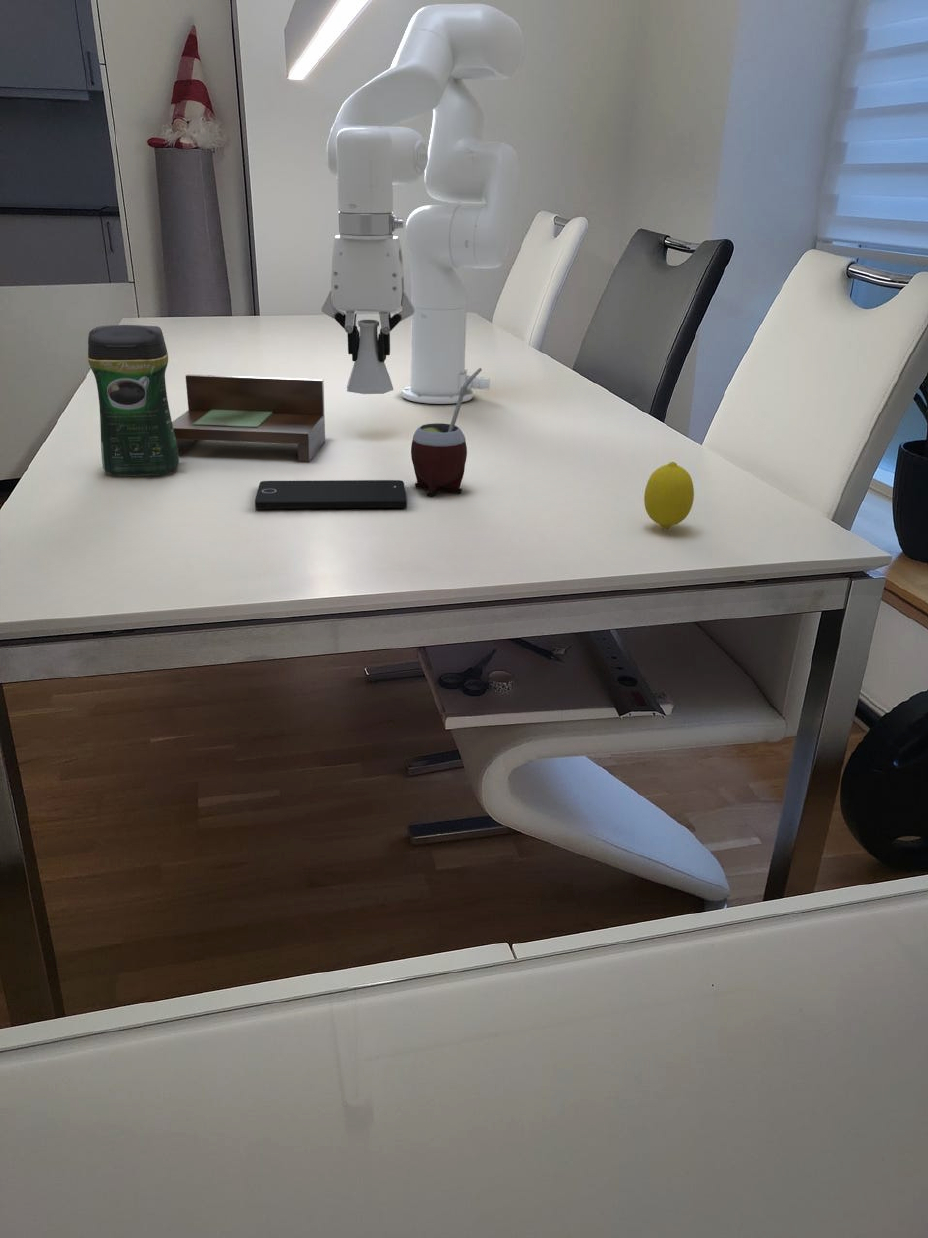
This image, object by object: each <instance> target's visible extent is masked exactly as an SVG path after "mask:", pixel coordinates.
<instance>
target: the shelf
mask: <svg viewBox="0 0 928 1238" xmlns="http://www.w3.org/2000/svg"><path fill="white" fill-rule="evenodd" d="M185 387H186V399H187V409H188V410H187V411H185V412H184V413H182V414H181V415H179V416H178V417H177V418H175V419H174V420H172V424H173V429H174V433H175V438H176V443H177V448H178V455H179V456H180V455H181V454H182V453H184V452H185V451H186V450H187V449H188V448H189V447H191V446H192V445H193V444H194V443H195V442H196V441H216V442H217V441H219V442H240V443H241V442H242V443H243V442H244V443H264V444H265V443H269V444H270V443H271V444H292V445H297V451H298V452H297V455H298V462H299V463H310V462H311V461H312V460H313V458H314V457H315V455H316V454H317V452H318V451H319V450H320V448H321V447H322V445H323V444H324V443H325V442H326V419H325V388H324V387H325V385H324V379H321V378H320V379H319V378H318V379H317V378H314V379H313V378H292V377H267V376H265V377H264V376H242V375H237V376H236V375H216V374H215V375H212V374H186V375H185Z"/></svg>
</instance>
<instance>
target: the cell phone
mask: <svg viewBox="0 0 928 1238" xmlns="http://www.w3.org/2000/svg"><path fill="white" fill-rule="evenodd" d="M407 505H408V499H407V493H406V488H405V482H404V481H403V480H401V479H361V480H359V479H358V480H357V479H356V480H355V479H354V480H353V479H352V480H351V479H346V480H344V479H342V480H339V479H337V480H335V479H334V480H333V479H332V480H326V479H325V480H323V479H322V480H261V481H260V482H259V484H258V488H257V491H256V496H255V498H254V507H255V509H258V510H259V509H260V510H261V509H262V510H263V509H267V510H268V509H369V508H370V509H373V508H377V509H378V508H381V509H383V508H386V509H387V508H390V509H391V508H397V509H398V508H399V509H400V508H401V509H404V508H406V507H407Z"/></svg>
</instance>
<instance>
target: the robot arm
mask: <svg viewBox="0 0 928 1238" xmlns="http://www.w3.org/2000/svg"><path fill="white" fill-rule="evenodd" d="M524 56H525V39H524V34H523V32H522V29H521V27H520V25H519V24H518V22H517V21H516V20H515V19H514V18H513V17H511V16H509V15H508V14H506V13H505V12H503V11H502V10H500V9H498V8H496V7H494V6H492V5H489V4H486V3H437V4H436V3H435V4H429V5H425V6H423V7H421V8H420V9H418V10H417V11H416V12H415V13H414V14H413V16H412V17H411V19H410V21H409V22H408V26H407V28H406V30H405V32H404V35H403V37H402V39H401V42H400V44H399V47H398V49H397V51H396V54H395V56H394V58H393V60H392V63H391V65H390V68H389V69H386V70H385V71H383V72H381V73H380V74H378V75H376V76H375V77H374V78H373V79H371V80H370V81H368V82H367V83H365V84H363V86H361V87H359V88H358V89H357V90H356V91H354V92H353V93H352V94H350V96H349V97H347V99H345V101H344V103H343V104H342V105H341V107H340V109H339V110H338V113H337V115H336V117H335V120H334V122H333V124H332V126H331V128H330V132H329V135H328V138H327V144H326V162H327V163H326V164H327V166H328V169H329V171H330V173H331V174H332V175H333V177H334V178H335V179H337V180H336V181H337V205H338V235H335V236H334V239H333V247H332V255H331V256H332V257H331V278H330V279H331V280H330V290H329V292H328V294H327V297H326V298H325V301H324V303H323V305H322V307H321V312H322V313H323V314H324V315H326V316H328V317H329V318H331V319H334V320H335V321H336V322H337V323H338V324H339V326H340V327H342V329H344V331H345V333H347V353H348V355H351V359H352V360H351V361H352V362H355V361H356V360H357V354H358V347H359V340H360V330H359V329H358V325H357V318H358V312H370V313H371V312H373V313H375V312H376V313H378V314H379V323H380V329H379V332H378V348H379V361H380V362H384V363H385V361H386V360H387V356H390V355H391V331H393V329H394V328H395V327H397V325H398V324H400V322H402V321H404V320H406V319H407V318H410V385H408V386H406V387H403V388H402V390H401V396H402V398H403V399H405V400H407V401H411V402H414V403H420V404H429V405H430V404H431V405H451V404H452V405H453V404H457V401H458V398H459V395H460V394H459V392H460V389H461V387H463V385H464V383H465V382H466V381H467V379H468V378H469V377H470V376H471V375H468V369H466V340H467V339H466V336H467V308H468V307H467V305H468V304H467V301H468V299H467V291H466V289H465V285H464V283H463V282H462V280H461V278H460V277H459V275H458V273H457V272H456V270H455V268H456V269H458V268H463V269H480V270H482V269H484V270H492V269H497V268H500V267H501V266H502V265H503V264H504V263H505V261H506V260H507V257H508V255H509V250H510V246H511V240H512V235H513V227H514V223H515V216H516V210H517V209H516V208H517V203H518V199H519V198H518V196H519V190H520V182H521V181H520V180H521V166H520V159H519V156H518V152H517V151H516V150H515V148H514V147H513V146H512V145H510V144H509V143H506V142H501V141H491V140H490V141H489V140H488V141H487V140H482V137H483V129H484V125H485V114H484V112H483V108H482V107H481V105H480V103H479V101H478V100H477V98H476V97H475V96H474V94H473V92H471V90H470V89H469V88H468V86H467V85H466V83H465V82H464V80H509V79H512V78H514V77H515V76H516V75H517V74H518V73H519V71H520V70H521V68H522V65H523V62H524V58H525V57H524ZM431 112H433V113H432V114H433V115H432V116H433V117H432V123H431V125H432V126H431V130H430V137H429V143H428V147H427V144H426V141H425V139H424V138H423V137H424V136H422V135H421V134H420V133H419V132H418V131H417V130H415V129H413V128H411V127H407V126H397V125H401V124H403V123H408V122H410V121H413V120H416V119H418V118H421V117H423V116H425V115H427V114H430V113H431ZM423 176H424V188H425V192H426V193H427V194H428V196H429V197H430V198H432V199H434V200H436V201H439V202H444V203H452V204H453V203H454V204H472V205H473V204H474V205H484V206H463V205H451V204H429V205H423V206H420V207H417V208H416V209H414V210H413V211H412V212H411V213H410V214H409V216H408V217H407V219H406V223H405V221H404V218H403V217H398V216H396V215H395V213H394V196H393V195H394V194H393V192H394V190H393V188H394V187H393V186H407V185H412V184H415V183H416V182H418V181H419V180H420V179H421V178H422V177H423ZM404 223H405V224H404ZM404 225H405V243H406V249H407V257H408V262H409V263H408V264H409V272H410V295H411V296H410V299H409V296H408V295H407V293H406V291H405V277H404V276H405V275H404V263H403V262H404V261H403V260H404V259H403V254H402V246H401V245H402V244H401V241H400V237H399V236H397V235H394V233H395V231H396V230H399V229H404ZM400 308H401V310H399V309H400ZM398 310H399V311H398ZM344 311H345V312H344ZM395 311H398V312H395ZM391 312H395V314H393V315H392V314H391ZM490 386H491V378H484V377H483V376H481V377H478V376H476V377H475V378H474V379H473V380H472V381H471V383H470V384H469V385H468V387H467V392H466V394H465V396H464V397H463V400H462V403H465V402H469V401H471V400H472V399H473V398H474V397H473V396H474V391H473V390H479V391H480V390H484V391H489V390H491V389H490V388H491V387H490ZM472 389H473V390H472Z"/></svg>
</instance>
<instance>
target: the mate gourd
mask: <svg viewBox="0 0 928 1238" xmlns="http://www.w3.org/2000/svg"><path fill="white" fill-rule="evenodd" d="M482 370H483V369H482V367H479V368H478V369H477V370H476V371H474V372H473V373H472V374H471V375H469V376H470V377H469V378H468V379H467V381H466V382H465V383H464V385H463V387H461V389H460V392H459V394H460V395H459V398H458V401H457V403H456V405H455V408H454V410H453V411H454V412H453V415H452V417H451V421H450V423H443V422H440V423H439V422H438V423H437V422H434V423H425V424H422V425H420V426H418V428H416V430H415V432H414V434H413V436H412V440H411V445H410V458H411V462H412V465H413V471H414V474H415V478H416V483H414V487H415V489H421V490H428V491H427V492H426V497H429V498H432V497H435V495H437V494H438V493H440V492H444V493H451V494H459V495H460V494H462V491H463V488H461V485H462V482H463V478H464V475H465V470H466V469H465V468H466V462H467V456H468V447H467V442H466V441H467V440H466V436H465V434H464V433H463V431H462V429H461V428H460V427H459V426H458V425H456V423H457V419H458V416H459V413H460V410H461V407H462V403H463V402H462V400H463V397H464V396H465V394H466V392H467V387H468V385H469V384H470V383H471V381H472V380H473V379H474V378H477V377H478V375H479V374H480V373H481V372H482Z"/></svg>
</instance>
